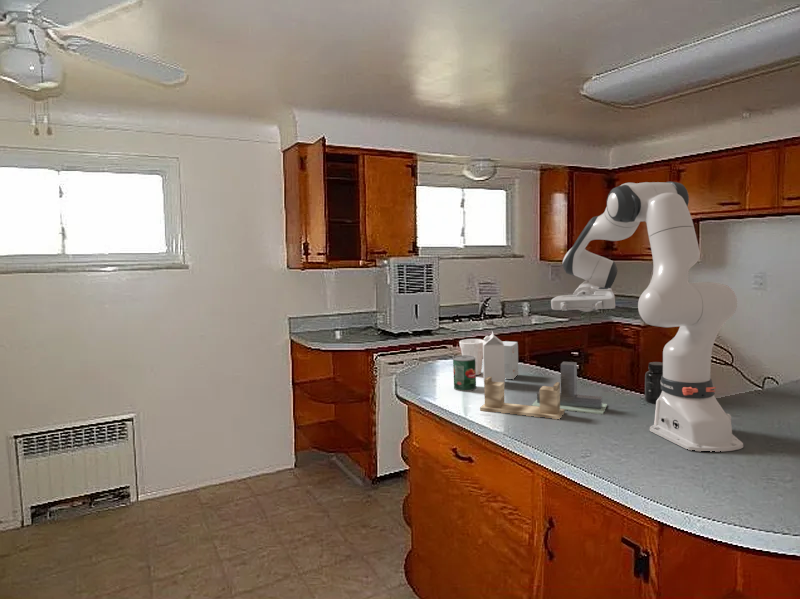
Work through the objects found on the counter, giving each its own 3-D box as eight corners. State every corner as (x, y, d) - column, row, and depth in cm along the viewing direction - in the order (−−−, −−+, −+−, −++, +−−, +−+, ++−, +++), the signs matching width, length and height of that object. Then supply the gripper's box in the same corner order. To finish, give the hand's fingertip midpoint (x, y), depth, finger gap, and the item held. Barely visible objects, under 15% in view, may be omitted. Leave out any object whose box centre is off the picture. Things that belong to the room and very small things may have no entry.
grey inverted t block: (602, 406, 166) (602, 364, 165) (600, 409, 163) (600, 367, 161) (539, 399, 175) (539, 359, 174) (536, 403, 172) (536, 362, 170)
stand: (564, 412, 163) (564, 381, 162) (559, 419, 157) (559, 387, 156) (487, 404, 175) (486, 375, 174) (480, 410, 168) (479, 380, 167)
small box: (502, 374, 212) (501, 340, 210) (518, 375, 209) (518, 341, 207) (496, 379, 205) (495, 344, 203) (512, 380, 202) (512, 345, 200)
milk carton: (503, 381, 201) (501, 330, 199) (505, 386, 194) (503, 333, 192) (483, 381, 201) (482, 331, 199) (484, 387, 194) (483, 334, 192)
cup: (490, 375, 211) (490, 341, 209) (467, 378, 207) (466, 344, 205) (477, 369, 220) (476, 337, 218) (455, 373, 216) (454, 340, 215)
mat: (607, 405, 168) (607, 404, 168) (602, 414, 160) (602, 412, 160) (538, 398, 178) (538, 397, 178) (531, 406, 170) (531, 405, 170)
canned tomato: (476, 391, 190) (475, 360, 189) (453, 391, 191) (452, 360, 190) (476, 385, 198) (475, 355, 196) (454, 385, 199) (453, 355, 198)
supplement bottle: (640, 399, 172) (640, 362, 171) (658, 397, 174) (658, 360, 173) (655, 405, 166) (655, 367, 165) (674, 403, 168) (674, 364, 166)
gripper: (554, 290, 192) (545, 299, 180) (616, 287, 182) (611, 297, 170) (555, 307, 193) (547, 318, 181) (618, 306, 183) (613, 316, 171)
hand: (579, 307), depth 175 cm, fingers open, 8 cm apart
